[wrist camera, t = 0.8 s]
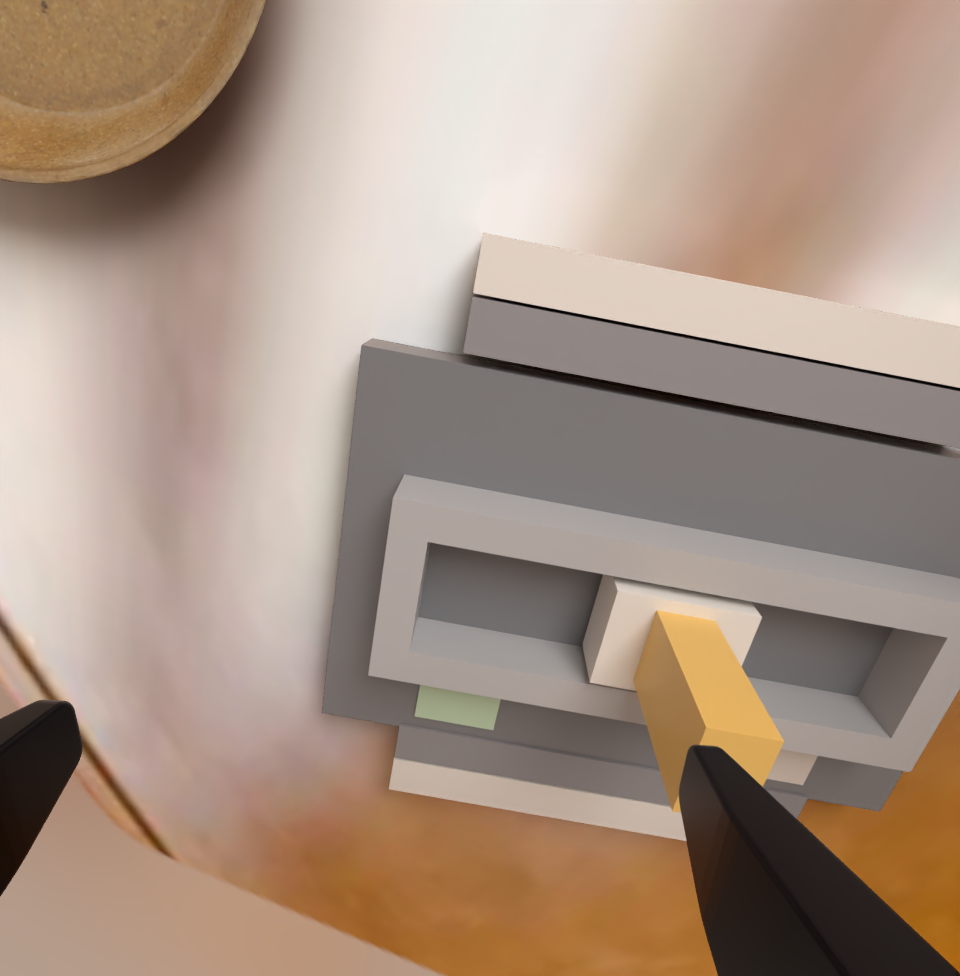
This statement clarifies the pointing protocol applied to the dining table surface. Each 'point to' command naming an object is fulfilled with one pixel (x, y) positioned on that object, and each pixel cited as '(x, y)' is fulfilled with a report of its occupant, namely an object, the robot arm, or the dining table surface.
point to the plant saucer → (109, 79)
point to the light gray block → (541, 782)
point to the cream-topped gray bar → (703, 360)
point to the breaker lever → (683, 672)
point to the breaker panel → (637, 564)
